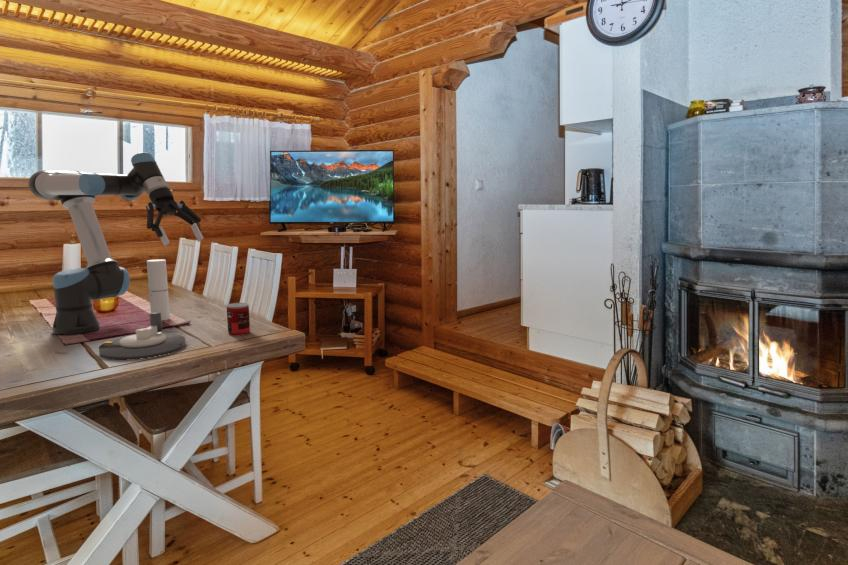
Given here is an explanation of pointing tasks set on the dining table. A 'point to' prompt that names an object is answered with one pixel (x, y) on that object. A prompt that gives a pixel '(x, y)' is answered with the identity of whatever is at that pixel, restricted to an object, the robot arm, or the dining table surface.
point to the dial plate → (141, 348)
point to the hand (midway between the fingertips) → (184, 242)
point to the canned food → (238, 318)
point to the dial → (146, 334)
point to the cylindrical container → (158, 287)
